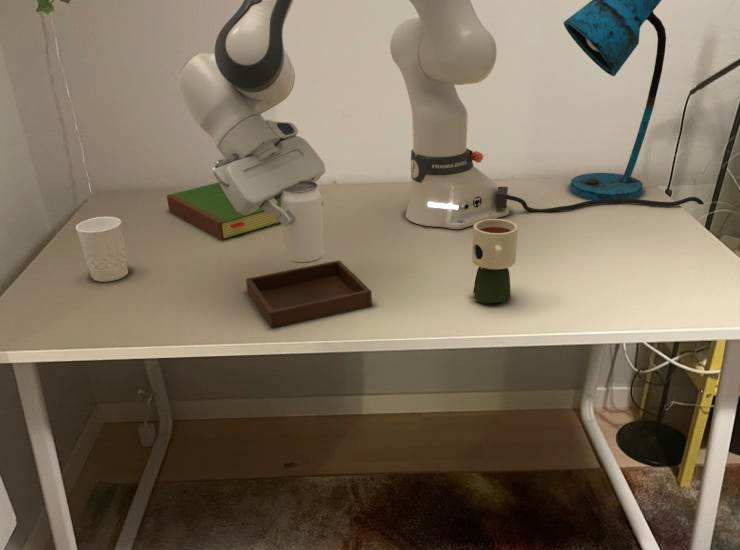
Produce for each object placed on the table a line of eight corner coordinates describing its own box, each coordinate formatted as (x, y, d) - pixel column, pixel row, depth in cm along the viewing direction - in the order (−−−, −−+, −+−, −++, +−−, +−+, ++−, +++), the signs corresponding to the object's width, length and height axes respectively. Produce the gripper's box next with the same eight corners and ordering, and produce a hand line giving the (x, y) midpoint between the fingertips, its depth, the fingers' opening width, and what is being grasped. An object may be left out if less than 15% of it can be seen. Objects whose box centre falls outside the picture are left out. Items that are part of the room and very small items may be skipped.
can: (319, 264, 121) (313, 193, 115) (281, 262, 123) (273, 191, 116) (329, 249, 127) (324, 180, 121) (292, 247, 128) (286, 179, 122)
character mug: (467, 285, 131) (469, 214, 125) (507, 284, 131) (512, 213, 124) (473, 314, 122) (477, 239, 115) (517, 313, 122) (523, 238, 115)
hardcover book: (169, 211, 170) (166, 195, 168) (240, 192, 180) (238, 177, 178) (223, 241, 153) (221, 224, 151) (299, 219, 163) (297, 202, 161)
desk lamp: (540, 183, 179) (558, -28, 156) (629, 177, 180) (660, -33, 157) (560, 205, 165) (583, -23, 142) (657, 199, 166) (695, -28, 143)
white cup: (92, 287, 136) (79, 235, 131) (85, 271, 142) (72, 221, 137) (135, 277, 139) (125, 226, 134) (126, 263, 145) (116, 213, 140)
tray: (340, 274, 137) (339, 260, 136) (371, 306, 126) (371, 291, 124) (247, 293, 132) (245, 278, 130) (271, 328, 120) (269, 312, 119)
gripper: (215, 151, 111) (273, 225, 111) (299, 120, 125) (350, 186, 126) (198, 177, 115) (254, 247, 115) (281, 144, 130) (330, 207, 130)
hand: (305, 215), depth 121 cm, fingers closed on can, 6 cm apart
